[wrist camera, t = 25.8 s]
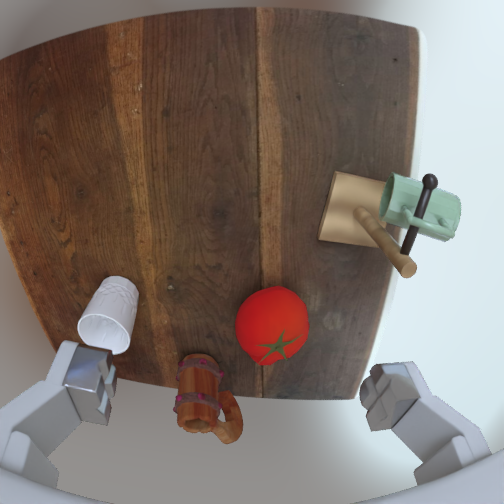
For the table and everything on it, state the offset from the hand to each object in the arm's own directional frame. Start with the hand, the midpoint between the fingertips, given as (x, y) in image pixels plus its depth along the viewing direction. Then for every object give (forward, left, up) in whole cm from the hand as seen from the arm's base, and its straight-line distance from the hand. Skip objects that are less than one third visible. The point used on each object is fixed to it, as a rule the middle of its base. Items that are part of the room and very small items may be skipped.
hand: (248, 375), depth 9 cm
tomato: (+25, -8, -34) cm, 43 cm away
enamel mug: (+18, +20, -21) cm, 34 cm away
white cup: (+10, -27, -34) cm, 45 cm away
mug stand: (+15, +13, -34) cm, 39 cm away
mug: (+33, -25, -34) cm, 54 cm away
